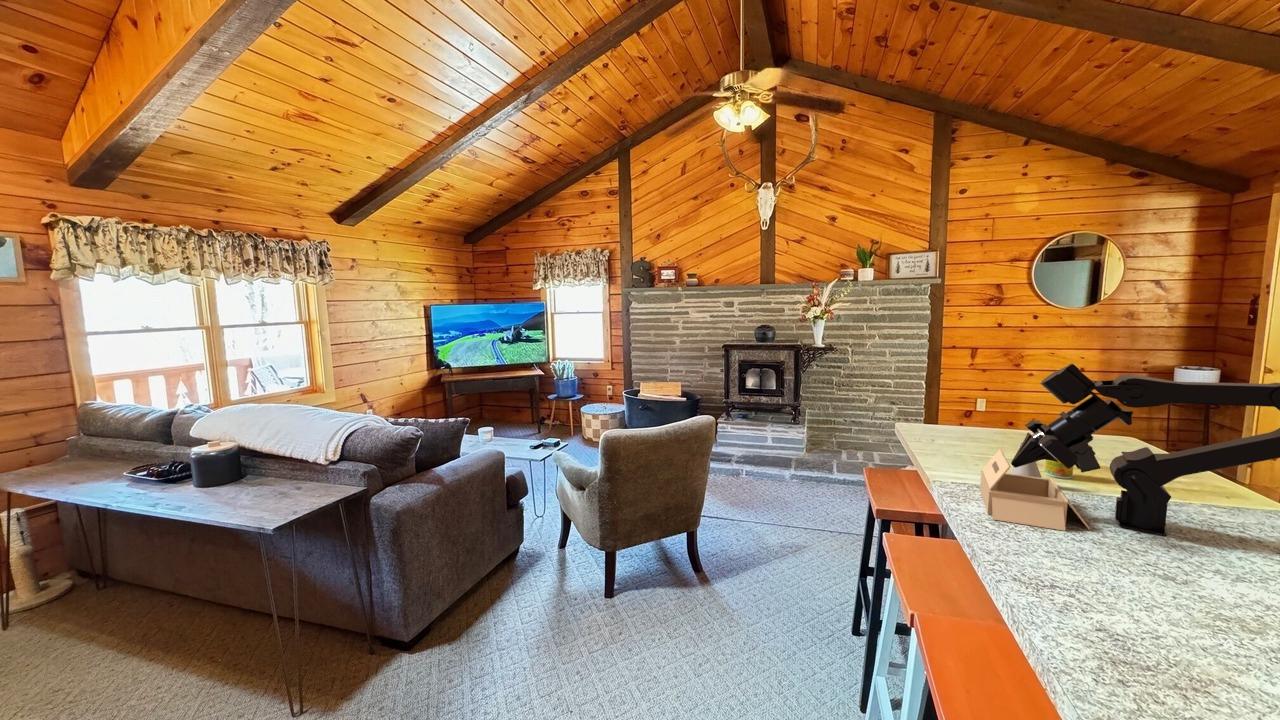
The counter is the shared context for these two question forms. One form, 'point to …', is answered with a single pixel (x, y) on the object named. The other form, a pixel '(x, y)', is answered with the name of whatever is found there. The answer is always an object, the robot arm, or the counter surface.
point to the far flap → (996, 468)
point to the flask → (1027, 469)
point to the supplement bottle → (1058, 470)
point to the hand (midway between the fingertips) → (1012, 465)
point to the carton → (1027, 501)
